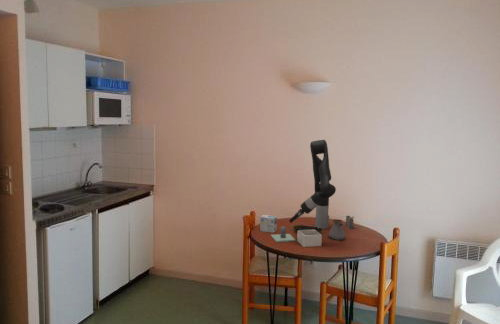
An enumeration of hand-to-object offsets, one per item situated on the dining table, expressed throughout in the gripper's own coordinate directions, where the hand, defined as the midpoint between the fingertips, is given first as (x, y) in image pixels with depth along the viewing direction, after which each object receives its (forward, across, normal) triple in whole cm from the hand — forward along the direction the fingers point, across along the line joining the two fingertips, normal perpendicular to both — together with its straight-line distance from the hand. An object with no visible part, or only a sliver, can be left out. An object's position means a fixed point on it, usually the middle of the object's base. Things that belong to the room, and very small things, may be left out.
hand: (291, 220), depth 262 cm
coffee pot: (-10, -13, +31) cm, 35 cm away
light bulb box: (+26, -16, -5) cm, 30 cm away
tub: (+1, +2, +19) cm, 19 cm away
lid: (+14, 0, +6) cm, 16 cm away
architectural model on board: (-11, -52, +32) cm, 62 cm away
